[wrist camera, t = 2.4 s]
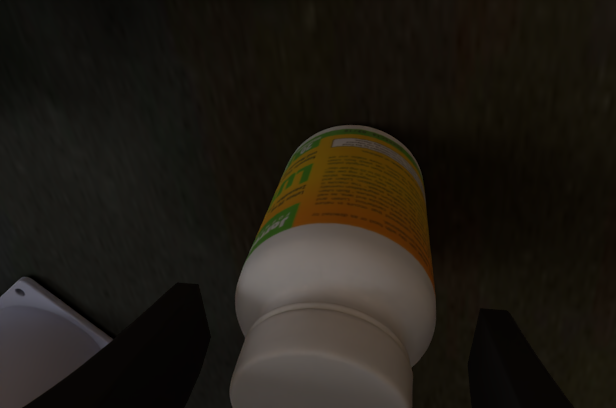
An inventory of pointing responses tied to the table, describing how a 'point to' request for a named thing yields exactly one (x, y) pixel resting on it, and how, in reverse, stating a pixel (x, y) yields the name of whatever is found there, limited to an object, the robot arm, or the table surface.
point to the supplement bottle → (338, 279)
